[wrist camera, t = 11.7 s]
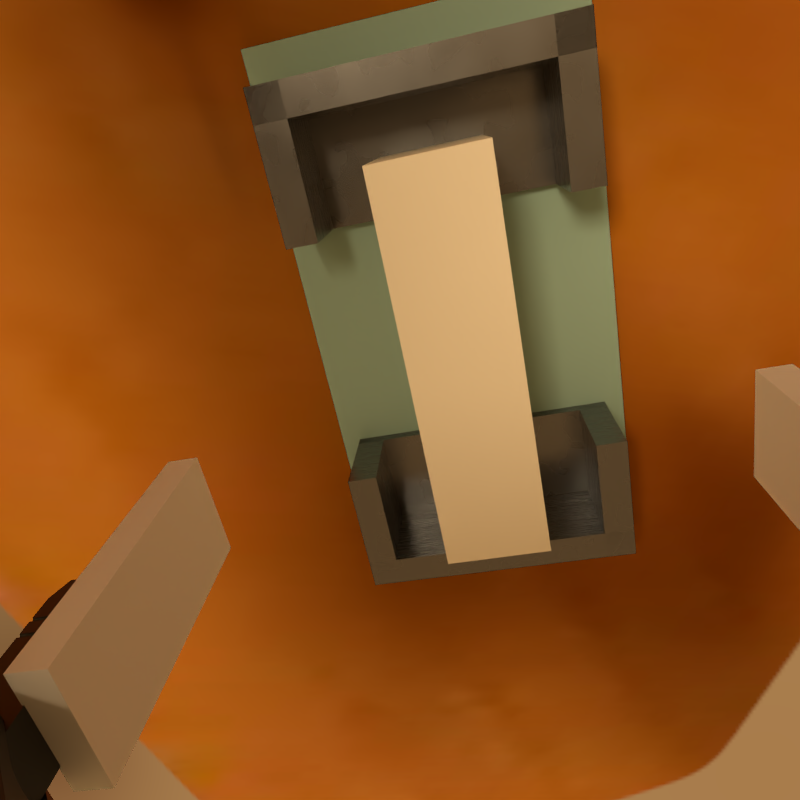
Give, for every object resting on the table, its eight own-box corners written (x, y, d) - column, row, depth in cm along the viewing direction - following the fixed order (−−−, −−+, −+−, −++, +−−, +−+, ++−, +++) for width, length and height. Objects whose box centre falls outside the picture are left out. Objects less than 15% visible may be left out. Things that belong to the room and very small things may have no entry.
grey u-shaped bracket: (272, 93, 25) (243, 87, 21) (570, 23, 23) (593, 4, 20) (308, 232, 27) (286, 249, 23) (584, 176, 25) (607, 185, 22)
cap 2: (613, 502, 31) (636, 553, 27) (383, 533, 33) (375, 584, 29) (604, 401, 29) (627, 441, 25) (359, 439, 31) (348, 481, 27)
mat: (243, 50, 25) (240, 49, 25) (586, -34, 23) (588, -37, 23) (376, 557, 34) (375, 562, 33) (630, 525, 32) (632, 530, 32)
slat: (380, 157, 25) (362, 166, 20) (482, 134, 25) (492, 137, 19) (448, 485, 31) (448, 563, 25) (532, 473, 30) (550, 550, 25)
